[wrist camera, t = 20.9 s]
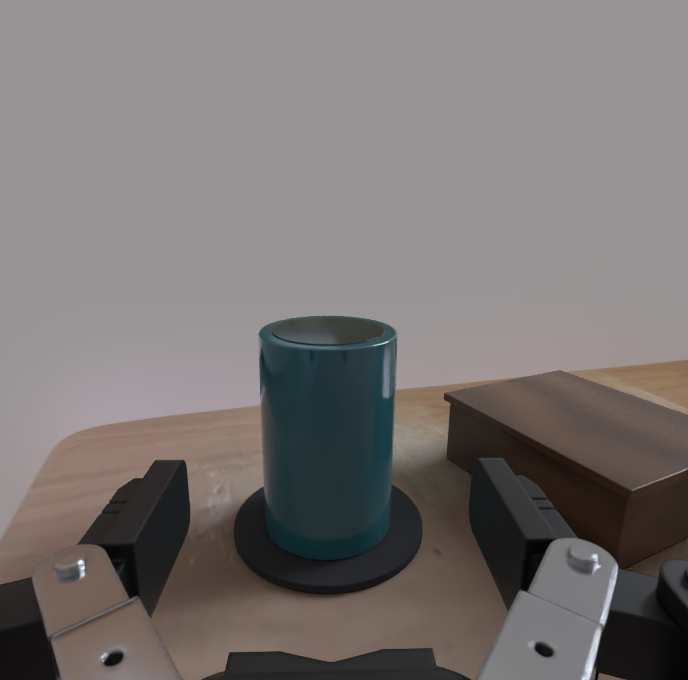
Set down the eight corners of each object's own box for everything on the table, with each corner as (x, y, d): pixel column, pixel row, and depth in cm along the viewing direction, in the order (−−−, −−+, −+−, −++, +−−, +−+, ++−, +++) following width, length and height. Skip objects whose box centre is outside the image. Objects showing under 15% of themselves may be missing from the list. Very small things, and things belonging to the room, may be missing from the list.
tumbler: (353, 474, 30) (356, 310, 27) (415, 536, 24) (426, 337, 21) (249, 501, 27) (241, 321, 24) (292, 579, 21) (287, 355, 19)
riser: (552, 426, 37) (559, 369, 36) (743, 516, 26) (762, 440, 25) (439, 456, 33) (443, 392, 31) (615, 580, 22) (631, 490, 21)
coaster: (364, 461, 32) (364, 456, 32) (462, 552, 24) (462, 545, 23) (214, 499, 28) (214, 493, 27) (270, 625, 19) (270, 617, 19)
